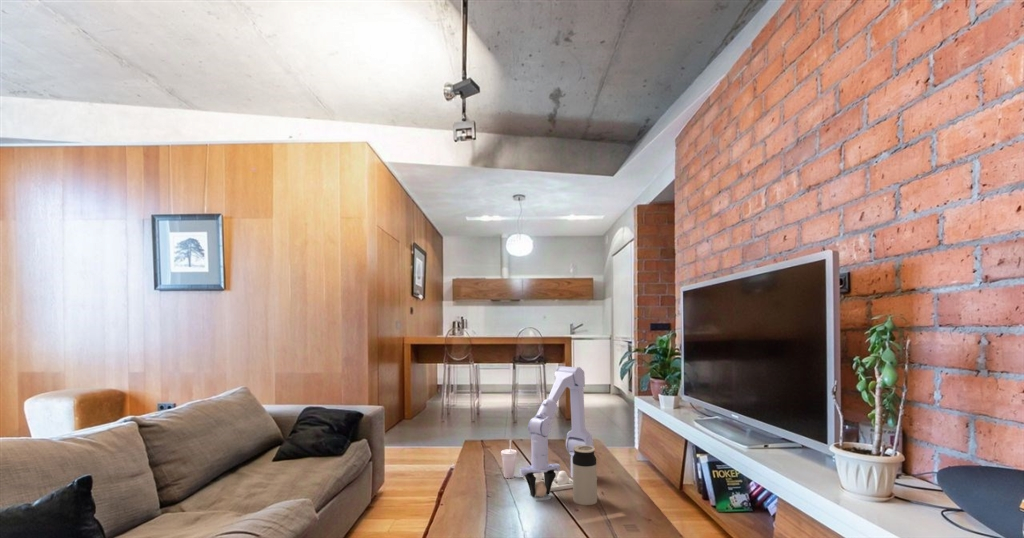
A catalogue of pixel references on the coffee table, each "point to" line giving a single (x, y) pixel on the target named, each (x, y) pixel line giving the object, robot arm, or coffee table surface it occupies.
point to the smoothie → (509, 462)
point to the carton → (557, 487)
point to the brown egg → (540, 488)
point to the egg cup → (541, 497)
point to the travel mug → (584, 475)
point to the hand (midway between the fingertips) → (540, 494)
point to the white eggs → (560, 477)
